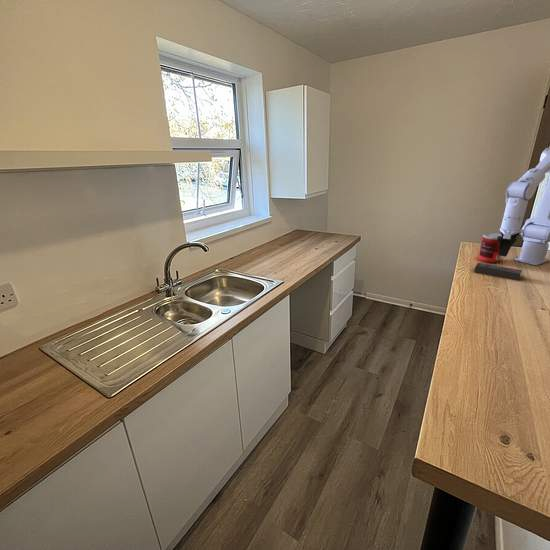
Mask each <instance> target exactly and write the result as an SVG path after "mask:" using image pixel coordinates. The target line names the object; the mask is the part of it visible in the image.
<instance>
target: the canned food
mask: <svg viewBox="0 0 550 550" xmlns="http://www.w3.org/2000/svg"><path fill="white" fill-rule="evenodd" d="M498 236H502V235H501V233H496V232H495V233H493V232H487V233H484V234H483V235H482V239H481V243H480V248H479V252H478V256H477V259H478V261H480V262H482V263H484V264H496V263H499V261H500V260H501V256H499V243H498V240H497V237H498Z"/></svg>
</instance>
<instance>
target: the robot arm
mask: <svg viewBox="0 0 550 550" xmlns="http://www.w3.org/2000/svg"><path fill="white" fill-rule="evenodd" d="M547 173H549V175H550V147H546V148H545V149H544V150H543V151H542V153H541V154H540V158H539V163H538V164H537V165H536V166H535V168H530V169H528V170H527V171H526V172H525V173H524V174H523V175H522V176H521V177H520V178H519V179H518V180H517V181H513V182H510V183H509V184H508V186H507V187H506V188H507V189H506V190H505V202H504V203H505V204H506V205H505V209H504V213H503V217H502V222H501V224H500V225H501V226H500V227H499V231H500V234H501V235H502V236H498V237H497V240H498V243H499V256H500V257H507V256H508V254H509V252H510V251H511V248H512V246H513V245H514V244H515V243H516V242H517V240H518V238H517V237H518V236H519V235H520V236H521V237H522V240H523V243H522V246H521V251H520V254H519V257H516V258H514V261H516V262H520V263H525V264H529V265H534V266H538V265H541V264H543V263H545V262H547V261H548V259H546V257H547V254H548V250H549V248H550V246H549V245H550V244H549V243H550V176H549V178H548V181H547V183H546V185H545V189H544V190H543V191H544V192H543V194H542V197H541V200H540V203H539V205H538V208H537V211H536V214H535V216H532V217H529V218H528V219H526V220H525V222H524V225H523V221H524V217H525V214H526V211H527V207H528V204H529V203H528V202H529V200H530V199H532V198H533V196H534V194H535V192H536V191H537V187H539V185H541V183H542V182H544V180H545V179H546V174H547ZM522 225H523V226H522Z"/></svg>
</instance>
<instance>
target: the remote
mask: <svg viewBox="0 0 550 550" xmlns="http://www.w3.org/2000/svg"><path fill="white" fill-rule="evenodd" d="M522 271H523V270H522V269H517V268H511V267H506V266H500V265H493V264H489V263H483V262H482V263H481V262H477V263H476V265H475V267H474V271H473V272H474V273H476V274H482V275H487V276H492V277H498V278H504V279H509V280H514V281H520V279H521V275H522Z"/></svg>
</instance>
